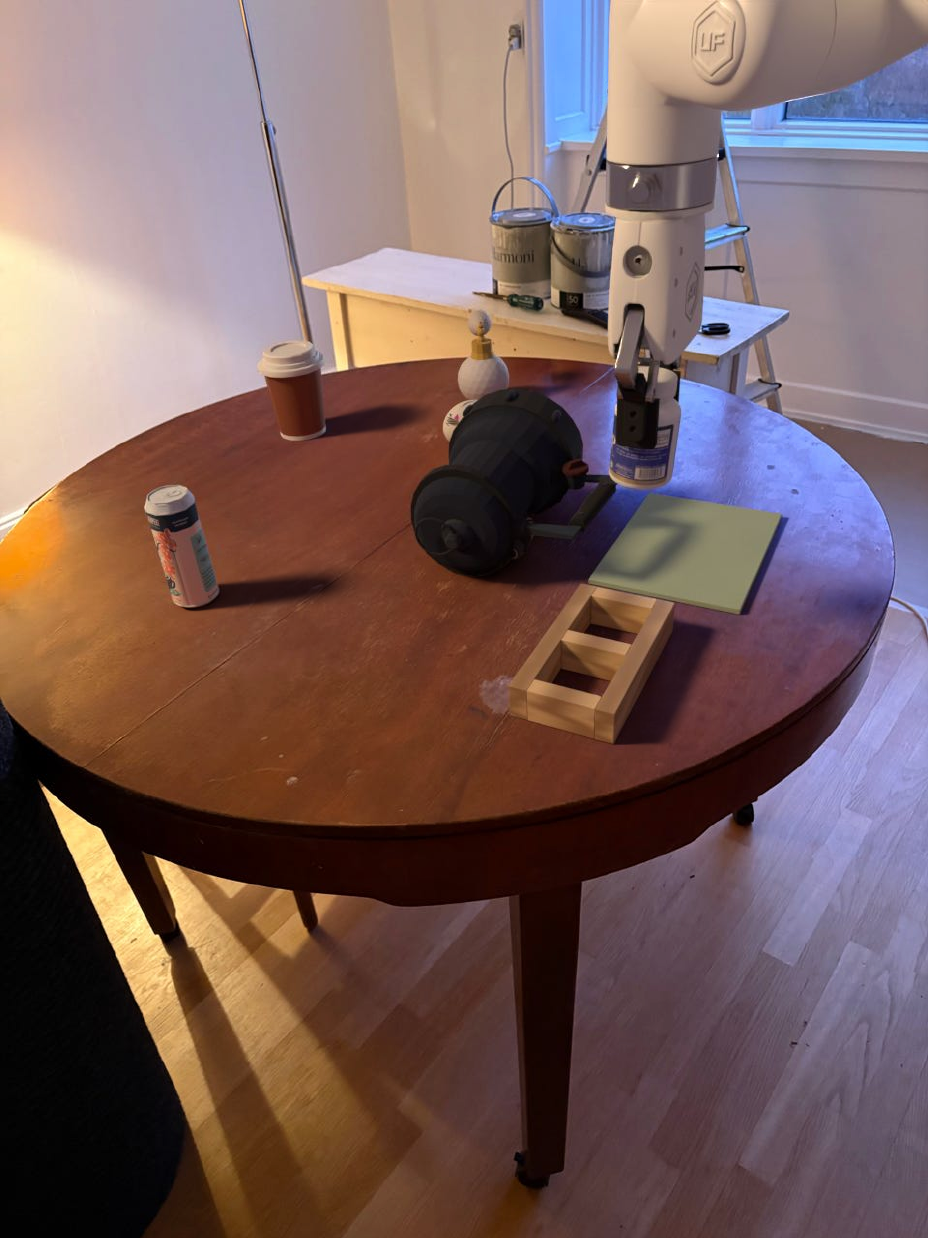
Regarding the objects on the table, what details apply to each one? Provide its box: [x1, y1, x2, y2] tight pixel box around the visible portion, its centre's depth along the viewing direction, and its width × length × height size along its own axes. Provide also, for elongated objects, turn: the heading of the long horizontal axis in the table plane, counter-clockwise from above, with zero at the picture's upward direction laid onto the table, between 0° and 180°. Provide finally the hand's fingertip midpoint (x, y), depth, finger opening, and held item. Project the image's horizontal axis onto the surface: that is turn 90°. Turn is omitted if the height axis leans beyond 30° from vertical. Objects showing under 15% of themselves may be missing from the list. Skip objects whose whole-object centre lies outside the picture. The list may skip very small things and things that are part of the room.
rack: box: [508, 583, 676, 745], centre depth 77 cm, size 9×16×3 cm, turn 153°
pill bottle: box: [608, 366, 682, 491], centre depth 72 cm, size 5×5×9 cm
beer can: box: [143, 484, 220, 609], centre depth 88 cm, size 5×5×12 cm
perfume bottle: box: [457, 309, 510, 401], centre depth 129 cm, size 8×10×12 cm
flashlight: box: [410, 387, 618, 577], centre depth 92 cm, size 15×21×20 cm
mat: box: [588, 492, 783, 616], centre depth 93 cm, size 15×20×1 cm
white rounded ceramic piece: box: [442, 399, 477, 442], centre depth 116 cm, size 8×6×7 cm
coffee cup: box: [256, 339, 327, 442], centre depth 123 cm, size 9×9×12 cm
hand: (647, 429), depth 72 cm, fingers closed on pill bottle, 5 cm apart
